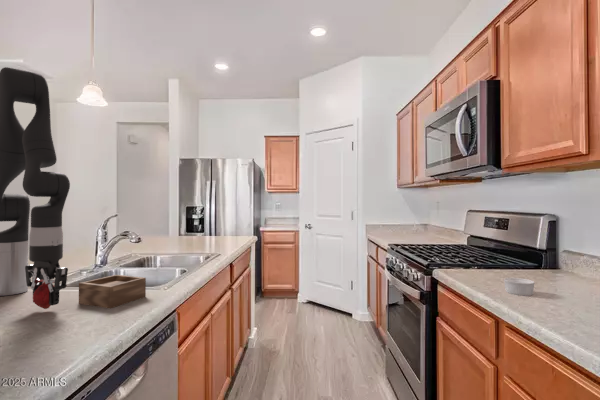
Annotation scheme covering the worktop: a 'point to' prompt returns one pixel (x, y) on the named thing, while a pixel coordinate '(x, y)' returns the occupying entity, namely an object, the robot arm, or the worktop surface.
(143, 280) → the wooden box
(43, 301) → the onion
